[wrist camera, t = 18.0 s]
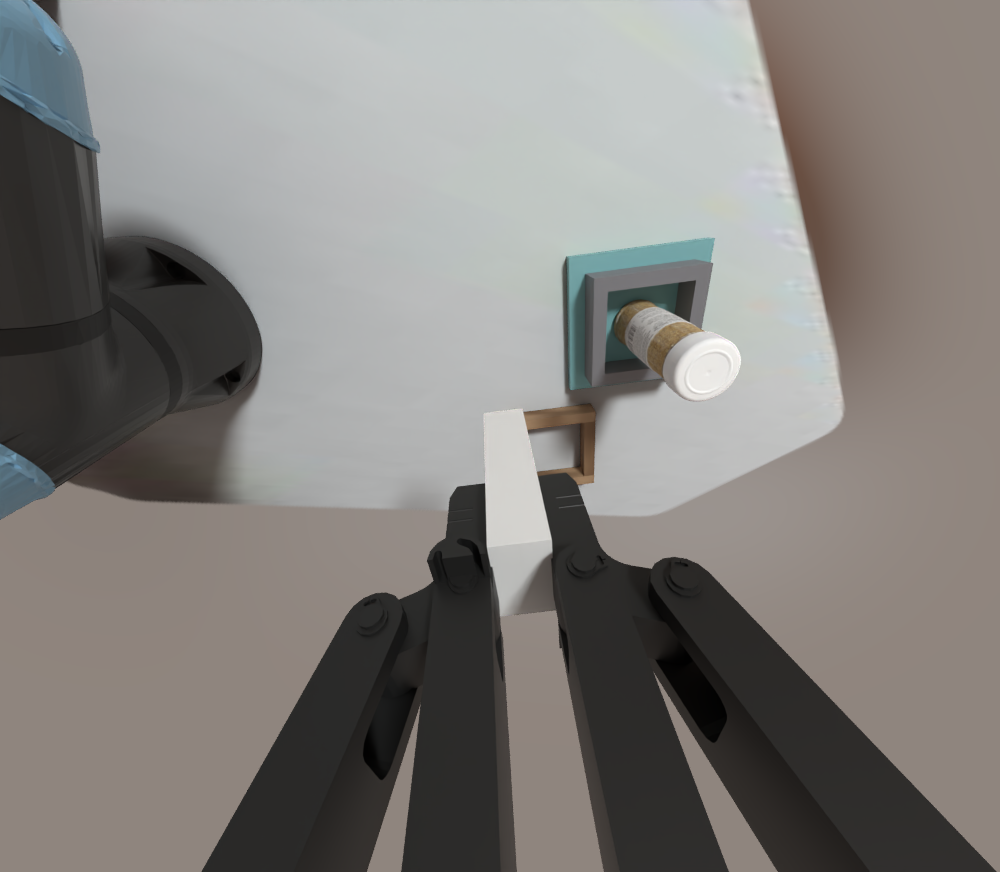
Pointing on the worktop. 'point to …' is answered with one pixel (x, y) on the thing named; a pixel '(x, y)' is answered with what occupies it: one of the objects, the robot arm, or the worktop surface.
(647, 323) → the sprinkles bottle
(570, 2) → the worktop surface
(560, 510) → the robot arm
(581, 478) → the stand collar
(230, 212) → the worktop surface
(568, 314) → the plate
